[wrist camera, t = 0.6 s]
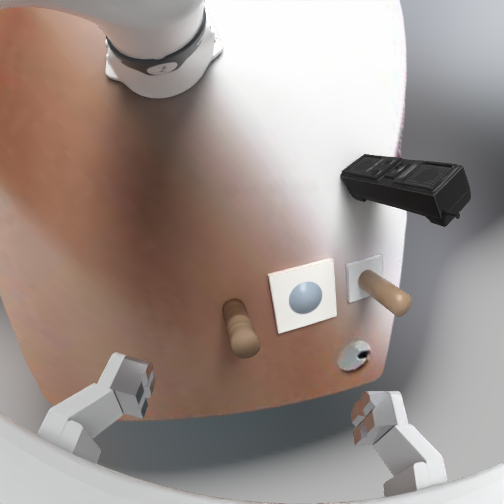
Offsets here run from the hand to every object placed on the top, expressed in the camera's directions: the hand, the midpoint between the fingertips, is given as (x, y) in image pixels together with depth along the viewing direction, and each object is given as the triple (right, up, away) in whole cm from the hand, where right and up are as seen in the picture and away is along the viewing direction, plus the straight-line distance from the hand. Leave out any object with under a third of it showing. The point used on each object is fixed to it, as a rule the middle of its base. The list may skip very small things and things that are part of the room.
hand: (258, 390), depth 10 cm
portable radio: (+19, +19, +40) cm, 48 cm away
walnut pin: (-3, -5, +42) cm, 42 cm away
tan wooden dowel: (+22, 0, +46) cm, 51 cm away
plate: (+9, -3, +44) cm, 45 cm away
